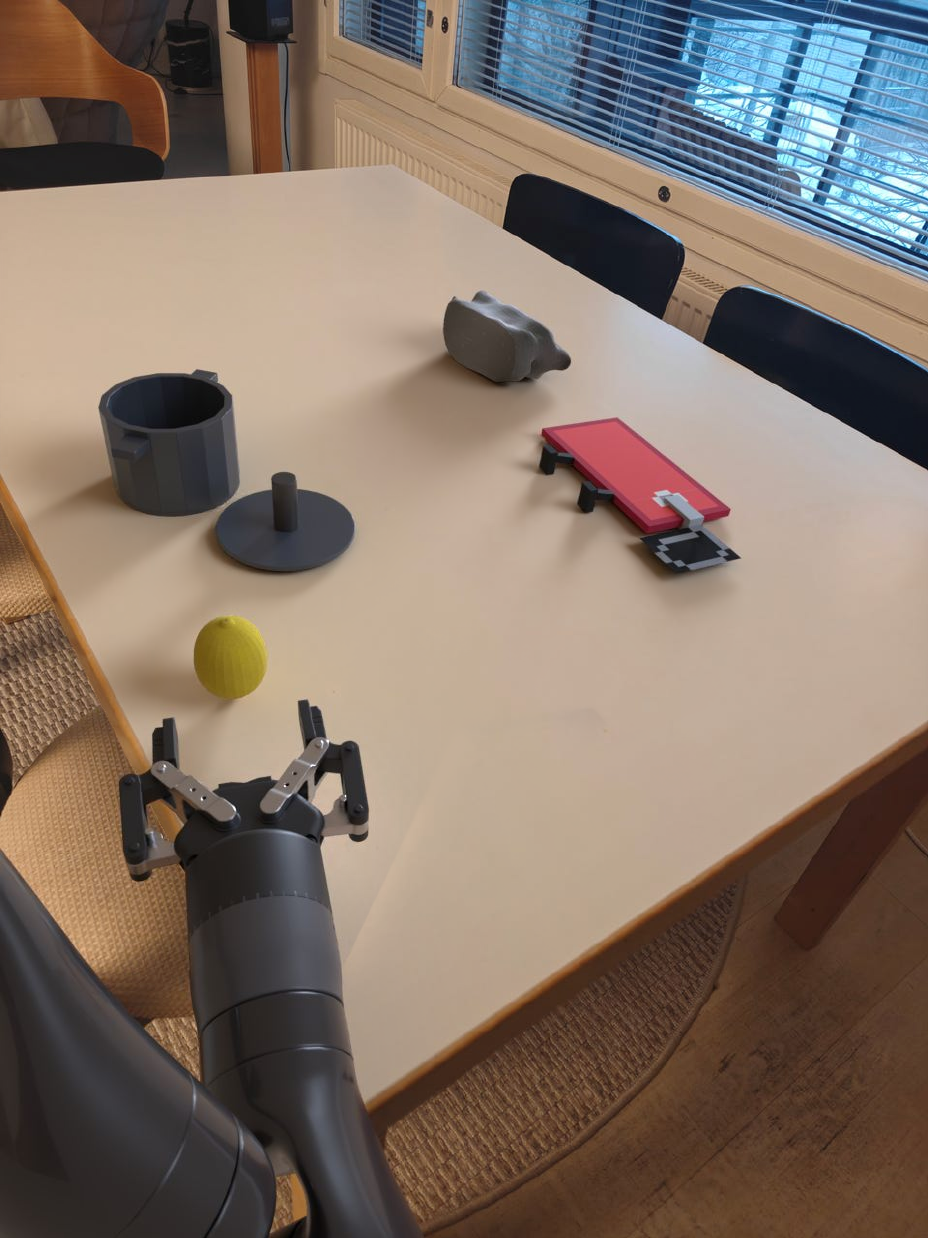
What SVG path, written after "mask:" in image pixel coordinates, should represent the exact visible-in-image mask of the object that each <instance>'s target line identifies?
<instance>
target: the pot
mask: <svg viewBox="0 0 928 1238" xmlns="http://www.w3.org/2000/svg"><path fill="white" fill-rule="evenodd" d="M218 376H219V375H218V372H214V371H209V370H203V369H198V368H196V369H195V370H194V371H193V372H192V373H186V372H157V373H151V374H150V373H149V374H145V375H139V376H138V375H137V376H133V377H131V378H128V379H126V380H122V381H121V382H118V383H116V384H114V385H112V386H111V387H110V388H109V389H108V390H106V391H105V392H104V393H103V394H101V396H100V400H99V404H98V408H97V409H98V413H99V419H100V422H101V427H102V433H103V438H104V443H105V447H106V453H107V457H108V462H109V466H110V472H111V477H112V481H113V486H114V488H115V490H116V494H117V496H118V497H119V499H120V500H121V501H122V502H123V503H124V504H125V505H127V507H130V508H132V509H133V510H135V511H138V512H140V513H144V514H148V515H151V516H152V515H154V516H159V517H183V516H192V515H196V514H201V513H204V512H208V511H211V510H213V509H216V508H218V507H220V506H221V505H222V506H223V504H225V503H227V502H228V501H229V500H230V499H232V498H233V497H234V495H236V493H237V491H238V489H239V487H240V484H241V483H240V482H241V481H240V474H241V473H240V461H239V451H238V439H237V429H236V427H237V426H236V418H235V417H236V416H235V406H234V396H233V394H232V393H231V392H230V391H229V390H228V389H227V387H225V385H223V384H222V383H220V382H219V377H218Z"/></svg>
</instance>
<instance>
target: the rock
mask: <svg viewBox="0 0 928 1238" xmlns="http://www.w3.org/2000/svg"><path fill="white" fill-rule="evenodd" d="M442 324H443V325H442V334H443V339H444V344H445V347H446V349H447V351H448V353H449V354H450V356H451V357H452V359H453V360H454V361H456V362H457V363H458V364H459V365H461V366H463V367H464V368H466V369H469V370H471V371H473V372H476V373H478V374H480V375H483V376H484V377H486V378H488V379H490V380H491V381H493V382H495V383H501V382H505V381H506V382H507V381H508V382H509V381H510V382H511V381H514V382H519V381H521V380H523V379H524V378H528V379H533V380H538V379H539V380H540V378H542V376H543V375H544V374H546V373H549V372H550V371H558V372H559V371H560V372H561V371H565V370H568V368H569V367H570V366H571V364H572V358H571V356H570V354H569V353H568V352H567V351H566V350H565V349H563V348H562V347H561V346H560V345H558V344H557V343H556V342H555V335H554V334H553V332H552V331H551V330H550V329H549V328H548V327H547V326H545V325H544V324H543V323H542V322H540V320H538V319H536V318H534V317H531V316H529V315H527V314H526V312H523V311H522V310H521V309H520V308H518V307H517V306H515V305H511V304H507V303H504V302H502V301H500V300H498V299H497V298H496V297H494V296H493V295H491V294H490V293H488V292H487V291H485V290H479V291H477V292H476V293H475V294H474V296H473V298H471V301H467V300H464V299H458V297H457V296H453V297H452V298H451V300H450V301H449V302H448V303H447V305H446V308H445V312H444V316H443V323H442Z"/></svg>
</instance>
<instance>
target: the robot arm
mask: <svg viewBox="0 0 928 1238" xmlns="http://www.w3.org/2000/svg"><path fill="white" fill-rule="evenodd" d="M297 711H298V712H297V713H298V715H297V716H298V722H299V729H300V734H301V740H302V745H303V752H302V753H301V754H300V756H299V757H298V758H294V759H293V760H292V761H291V763H290V764H289V765H288V767H287V768H286V769H285V771H284V772H283V773H282V775H281V777H280V778H279V779H274V778H273V779H272V775H267V776H261V777H260V776H259V777H257V778H254V779H251V780H248V781H244V782H240V781H230V782H223V783H218V787H217V788H215V789H213V790H211V789H210V788H208V787H207V786H206V785H204V784H203V783H202V782H201V781H199V780H198V779H197V778H196V777H194V776H193V775H191V774H189V775H185V774H184V773H183V772H182V770H180V769H181V768H180V748H179V747H180V746H179V735H178V728H177V723H176V718H175V717H174V716H173V717H165V718H162V726H159V727H154V729H153V731H152V733H151V739H152V740H151V748H152V749H151V750H152V751H151V753H152V758H151V760H152V764H151V766H150V768H149V769H148V770H147V771H145V772H143V773H141V774H139V775H138V774H137V773H132V772H131V773H126V774H124V775H122V776H121V778H119V780H118V795H119V811H120V826H121V827H120V828H121V842H122V854H123V856H124V861H125V863H126V864H125V865H126V867H127V870H128V873H129V877H130V879H131V880H132V881H134V882H138V883H141V882H144V881H146V880H148V879H150V878H151V876H152V875H153V870H154V869H155V870H156V869H160V868H161V869H162V868H164V867H169V866H173V865H179V866H180V867H181V869H182V870H183V871H184V882H185V883H184V884H185V905H186V928H187V929H186V930H187V947H188V967H189V968H188V975H189V976H188V977H189V991H190V999H191V1005H192V1011H193V1016H194V1020H195V1025H196V1033H197V1041H198V1042H197V1045H198V1046H197V1047H198V1062H199V1063H198V1065H199V1066H198V1067H199V1079H198V1078H197V1077H196V1076H195V1075H194V1074H193V1073H191V1071H189V1069H187V1068H186V1067H185V1066H184V1065H183V1064H182V1063H181V1062H180V1061H179V1060H178V1059H177V1058H176V1057H174V1056H173V1055H172V1054H171V1053H170V1052H169V1051H168V1050H167V1049H166V1048H165V1047H164V1046H162V1045H161V1043H159V1042H158V1041H157V1040H156V1039H155V1038H154V1037H153V1036H152V1035H151V1034H150V1033H149V1032H148V1031H147V1030H146V1029H145V1027H143V1025H141V1023H140V1022H139V1021H138V1020H137V1019H136V1018H135V1017H134V1016H133V1015H132V1014H131V1012H129V1011H128V1010H127V1009H126V1008H125V1006H124V1005H123V1004H122V1003H121V1002H120V1000H119V999H118V998H117V997H116V996H115V995H114V993H113V992H112V991H111V990H110V988H109V987H108V986H107V985H106V984H105V983H104V981H103V980H102V979H101V978H100V977H99V975H98V974H97V973H96V972H95V971H94V968H92V966H91V965H90V964H89V963H88V961H87V960H86V959H85V958H84V956H83V955H82V954H81V952H80V951H79V950H78V948H76V945H74V944H73V942H72V941H71V940H70V938H69V937H68V935H67V934H66V932H65V931H64V930H63V929H62V928H61V926H60V925H59V923H58V922H57V921H56V919H55V918H54V917H53V915H52V914H51V913H50V912H49V910H48V909H47V907H46V906H45V905H44V903H43V902H42V900H41V899H40V898H39V896H38V895H37V893H35V891H34V890H33V888H32V887H31V886H30V884H29V883H28V882H27V880H26V879H25V878H24V877H23V875H22V874H21V872H20V871H19V870H18V869H17V868H16V866H15V865H14V864H13V862H12V861H11V860H10V859H9V857H8V856H7V854H6V853H5V852H4V851H3V850H2V848H1V847H0V1238H425V1236H424V1234H423V1231H422V1230H421V1227H420V1225H419V1223H418V1221H417V1219H416V1217H415V1214H414V1213H413V1211H412V1209H411V1207H410V1204H409V1203H408V1201H407V1198H406V1197H405V1195H404V1192H403V1191H402V1189H401V1187H400V1185H399V1183H398V1180H397V1179H396V1176H395V1174H394V1172H393V1170H392V1167H391V1165H390V1163H389V1161H388V1159H387V1156H386V1154H385V1152H384V1149H383V1146H382V1144H381V1141H380V1140H379V1137H378V1134H377V1132H376V1129H375V1127H374V1124H373V1122H372V1120H371V1117H370V1114H369V1112H368V1109H367V1107H366V1105H365V1101H364V1098H363V1096H362V1094H361V1090H360V1087H359V1083H358V1078H357V1073H356V1066H355V1062H354V1061H355V1060H354V1055H353V1049H352V1042H351V1037H350V1032H349V1027H348V1020H347V1016H346V1010H345V1003H344V1002H345V1001H344V990H343V988H344V987H343V970H342V969H343V968H342V960H341V953H340V947H339V941H338V938H337V937H338V936H337V931H336V925H335V921H334V914H333V908H332V904H331V899H330V892H329V887H328V882H327V876H326V870H325V864H324V859H323V855H322V849H321V847H322V844H323V842H324V840H325V838H327V837H336V836H344V835H348V837H349V840H350V841H352V842H355V843H363V842H364V841H366V840H367V839H368V838H369V827H370V825H369V824H370V823H369V821H370V805H369V799H368V794H367V788H366V781H365V776H364V769H363V765H362V764H363V762H362V757H361V751H360V745H359V744H358V743H357V742H356V741H354V740H346V741H344V742H342V743H341V744H337V743H333V742H331V741H330V740H329V739H328V737H327V732H326V727H325V724H324V723H325V721H324V718H323V713H322V710H321V709H320V707H319V706H318V705H312V706H311V704H310V700H309V699H308V698H307V699H306V698H305V699H299V700H297ZM329 773H330V774H337V775H340V776H339V777H340V782H341V791H342V794H340V795H339V796H338V798H337V799H335V800H334V801H333V803H332V804H333V805H332V809H331V811H330V812H328V813H327V814H324V813H322V811H321V810H320V809H319V808H318V807H316V806H315V805H314V804H312V803H313V801H314V799H315V796H316V792H317V790H318V788H319V787H320V786H321V784H322V783H323V781H324V779H325V778H326V776H327V775H328V774H329ZM156 801H160V802H161V803H162V804H164V805H165V806H166V807H167V808H169V809H170V810H171V811H172V812H173V813H174V814H175V815H176V816H177V818H178V819H179V821H180V822H181V823H182V824H183V825H182V827H181V828H180V830H179V831H178V832H177V833H176V836H175V837H174V839H173V840H172V841H168V840H166V839H164V838H163V835H162V833H161V832H160V831H159V830H157V829H154V828H153V827H150V826H149V817H148V807H147V805H150V804H152V803H154V802H156ZM291 1175H295V1176H296V1178H297V1180H298V1182H299V1184H300V1186H301V1188H302V1190H303V1194H304V1198H305V1204H306V1215H304V1216H302V1217H300V1218H298V1219H296V1220H294V1221H292V1222H290V1223H288V1224H286V1225H283V1226H282V1227H280V1228H278V1229H276V1230H274V1231H272V1227H273V1224H274V1219H275V1216H276V1209H277V1200H278V1199H277V1198H278V1192H277V1191H278V1190H277V1189H278V1188H277V1187H278V1186H277V1180H276V1178H281V1177H284V1176H291ZM271 1231H272V1232H271Z"/></svg>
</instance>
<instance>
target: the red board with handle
mask: <svg viewBox="0 0 928 1238" xmlns="http://www.w3.org/2000/svg"><path fill="white" fill-rule="evenodd" d="M540 436H541V437H542V438H544V439H545V440H546V442H548V443H549V444H544V445H542V449H541V455H540V460H539V466H538V467H539V469H540V470H541V471H543V472H544V473H545V474H546V475H547V476H550V475H554V474H555V472H556V471H555V470H556V465H557V464H562V465H571V466H574V468H576V469H577V470H578V471H579V472H580V473H581V474H582V475H583V476H584V477H585V478H587V481H582V482H581V484H580V489H579V492H578V498H577V503H576V504H577V506H578V507H579V508H580V509H581V510H582V511H583V512H584V513H585V514H589V513H593V512H594V510H595V506H596V501H598V502H607V503H613V504H614V505H615V506H616V507H618V508H619V509H620V510H621V511H622V512H623V513H624V514H625V515H626V516H627V517H628V518H629V519H630V520H632V522H634V523H635V525H637V526H638V527H639V528H640V529H641V530H642V531H644V533H646V535H647V534H650V535H647V536H642V537H638V538H639V540H640V541H641V542H642V543H643V544H644V545H646V547H647V548H649V549H650V550H651V551H652V552H653V553H654V554H655V555H656V556H657V557H658V558H659V559H660V560H661V561H662V562H663V563H664V564H666V565H667V567H669V568H670V569H671V570H672V571H673V572H674V573H675V574H676V575H678V574H682V573H687V572H691V571H695V570H699V569H704V568H707V567H711V566H715V565H720V564H724V563H728V562H732V561H736V560H740V559H742V557H741V556H740V555H739V554H737V552H735V550H733V549H732V548H731V547H729V546H728V545H727V544H726V543H724V542H723V541H722V540H721V539H720V538H719V537H718V536H716V535H715V534H714V532H713V533H712V531H711V530H709V529H708V528H707V527H706V526H704V525H703V522H707V521H712V520H717V519H721V518H726V517H729V515H730V513H731V509H732V508H730V507H729V506H728V505H726V504H725V503H724V502H723V501H722V500H720V499H719V498H718V497H716V496H715V495H714V494H713V493H712V492H710V491H709V490H708V489H706V487H704V486H703V485H702V484H701V483H699V482H698V481H697V480H696V479H695V478H693V477H692V476H691V475H689V473H687V472H686V471H684V470H683V469H682V468H681V467H679V465H677V464H676V463H675V462H673V461H672V460H671V459H670V458H668V457H667V456H666V455H664V453H662V452H661V451H660V450H658V449H657V448H656V447H655V446H653V445H652V444H651V443H650V442H649V441H647V439H645V438H644V437H642V436H641V435H640V434H639V433H637V431H635V430H634V429H633V428H631V427H630V426H629V425H627V424H626V423H625V422H624V421H623V420H621V419H620V418H619V417H616V416H615V417H611V418H602V419H597V420H590V421H582V422H576V423H569V424H562V425H556V426H549V427H542V429H541V434H540ZM677 528H678V529H677ZM670 529H674V530H670ZM666 530H668V531H666ZM669 530H670V531H669ZM662 531H663V532H662ZM664 531H665V532H664ZM657 532H660V533H657ZM652 533H654V534H652ZM655 533H656V534H655Z"/></svg>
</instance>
